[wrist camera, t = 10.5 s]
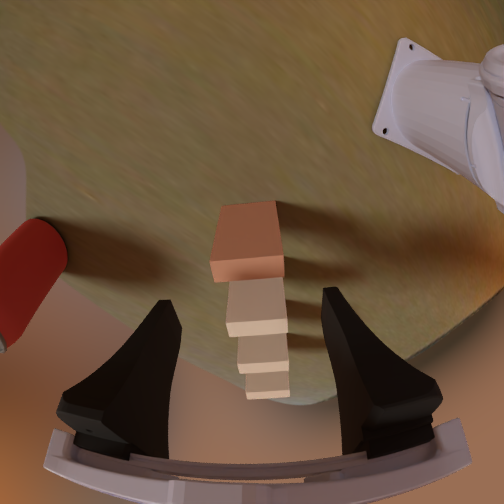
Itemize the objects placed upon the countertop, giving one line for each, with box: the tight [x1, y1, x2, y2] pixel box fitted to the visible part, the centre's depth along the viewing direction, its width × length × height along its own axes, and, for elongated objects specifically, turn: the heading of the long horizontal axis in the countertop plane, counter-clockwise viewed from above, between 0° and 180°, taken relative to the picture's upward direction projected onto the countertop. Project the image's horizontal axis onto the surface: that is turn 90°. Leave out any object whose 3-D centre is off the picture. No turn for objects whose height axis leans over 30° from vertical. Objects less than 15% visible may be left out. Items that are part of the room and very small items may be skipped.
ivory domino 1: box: [226, 277, 288, 337], centre depth 22 cm, size 2×4×7 cm, turn 96°
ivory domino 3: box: [246, 371, 290, 399], centre depth 27 cm, size 2×4×7 cm, turn 97°
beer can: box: [0, 219, 68, 353], centre depth 18 cm, size 7×7×12 cm
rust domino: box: [210, 201, 285, 282], centre depth 19 cm, size 2×4×7 cm, turn 97°
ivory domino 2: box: [237, 333, 289, 374], centre depth 24 cm, size 2×4×7 cm, turn 97°
